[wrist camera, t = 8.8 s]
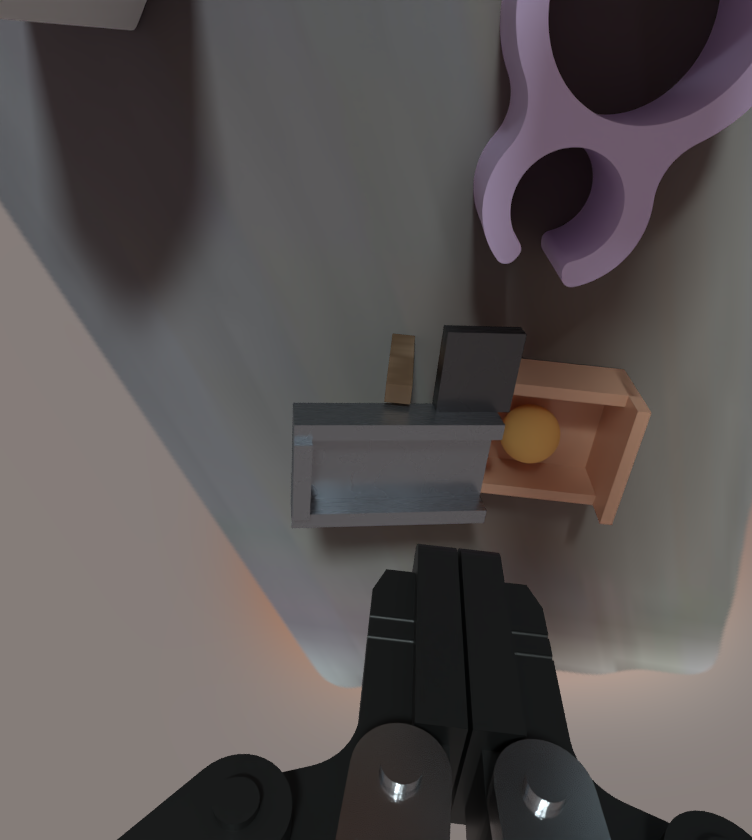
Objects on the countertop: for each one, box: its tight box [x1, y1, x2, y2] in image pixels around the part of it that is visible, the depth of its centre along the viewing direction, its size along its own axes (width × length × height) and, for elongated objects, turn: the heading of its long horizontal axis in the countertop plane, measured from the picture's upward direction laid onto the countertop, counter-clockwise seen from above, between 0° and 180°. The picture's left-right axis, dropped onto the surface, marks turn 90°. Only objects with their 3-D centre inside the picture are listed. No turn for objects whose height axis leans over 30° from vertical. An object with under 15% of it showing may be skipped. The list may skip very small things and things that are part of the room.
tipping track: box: [291, 325, 527, 528], centre depth 37 cm, size 13×12×3 cm
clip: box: [473, 0, 752, 287], centre depth 31 cm, size 20×12×7 cm, turn 162°
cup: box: [480, 358, 651, 525], centre depth 42 cm, size 10×9×6 cm
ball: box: [500, 404, 560, 463], centre depth 43 cm, size 4×4×4 cm
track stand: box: [384, 334, 415, 404], centre depth 42 cm, size 2×10×8 cm, turn 175°
